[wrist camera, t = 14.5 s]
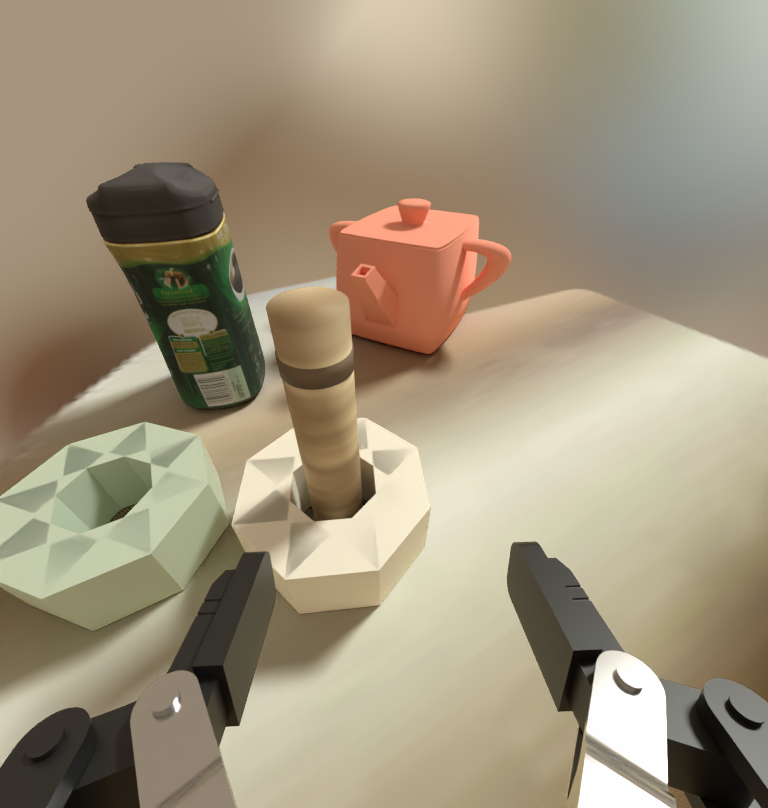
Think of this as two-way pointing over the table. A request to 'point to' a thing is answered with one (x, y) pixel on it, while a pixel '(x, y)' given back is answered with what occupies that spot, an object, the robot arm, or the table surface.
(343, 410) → the grooved wooden dowel
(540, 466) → the table surface
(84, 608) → the sage bead
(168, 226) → the coffee jar
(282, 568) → the cream octagonal ring
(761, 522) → the table surface
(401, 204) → the teapot
